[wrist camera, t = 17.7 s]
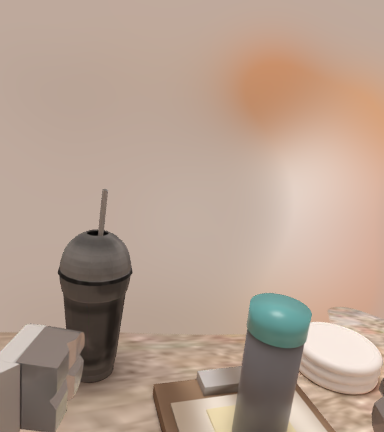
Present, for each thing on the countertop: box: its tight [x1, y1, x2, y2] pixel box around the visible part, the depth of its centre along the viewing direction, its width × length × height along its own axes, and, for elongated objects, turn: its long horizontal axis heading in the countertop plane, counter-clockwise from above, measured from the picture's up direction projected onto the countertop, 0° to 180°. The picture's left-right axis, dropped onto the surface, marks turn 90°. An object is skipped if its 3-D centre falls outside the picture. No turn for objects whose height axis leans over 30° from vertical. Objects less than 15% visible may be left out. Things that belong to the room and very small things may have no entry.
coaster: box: [299, 322, 383, 395], centre depth 42 cm, size 10×10×4 cm
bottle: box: [232, 293, 312, 432], centre depth 28 cm, size 5×5×12 cm
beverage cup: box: [58, 189, 132, 382], centre depth 36 cm, size 7×7×20 cm
